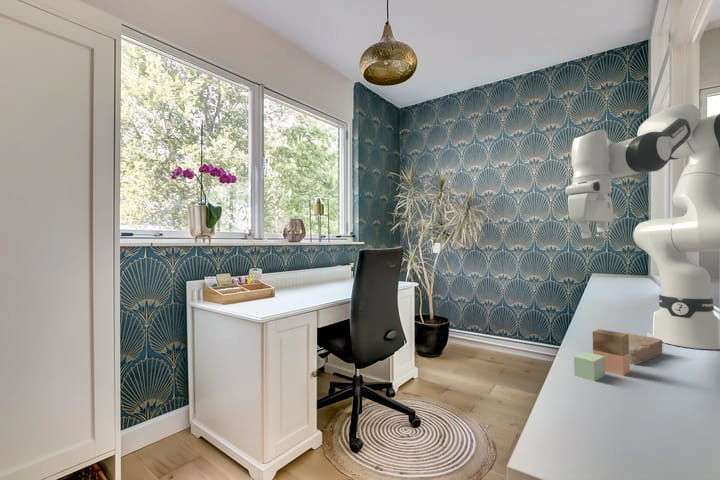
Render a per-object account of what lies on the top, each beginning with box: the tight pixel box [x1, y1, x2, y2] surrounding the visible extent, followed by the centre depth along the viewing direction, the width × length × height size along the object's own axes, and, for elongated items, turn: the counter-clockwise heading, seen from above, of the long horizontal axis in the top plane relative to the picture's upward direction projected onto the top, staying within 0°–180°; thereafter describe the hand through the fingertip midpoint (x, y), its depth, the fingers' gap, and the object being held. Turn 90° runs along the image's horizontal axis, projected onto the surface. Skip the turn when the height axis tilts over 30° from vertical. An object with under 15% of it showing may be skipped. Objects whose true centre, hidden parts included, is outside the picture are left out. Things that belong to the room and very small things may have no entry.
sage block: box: [573, 351, 606, 382], centre depth 77 cm, size 6×4×4 cm, turn 124°
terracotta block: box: [592, 349, 631, 377], centre depth 80 cm, size 6×4×4 cm, turn 34°
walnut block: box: [592, 328, 629, 356], centre depth 80 cm, size 6×4×4 cm, turn 35°
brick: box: [627, 333, 664, 366], centre depth 90 cm, size 17×8×5 cm, turn 119°
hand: (593, 238), depth 92 cm, fingers open, 8 cm apart
